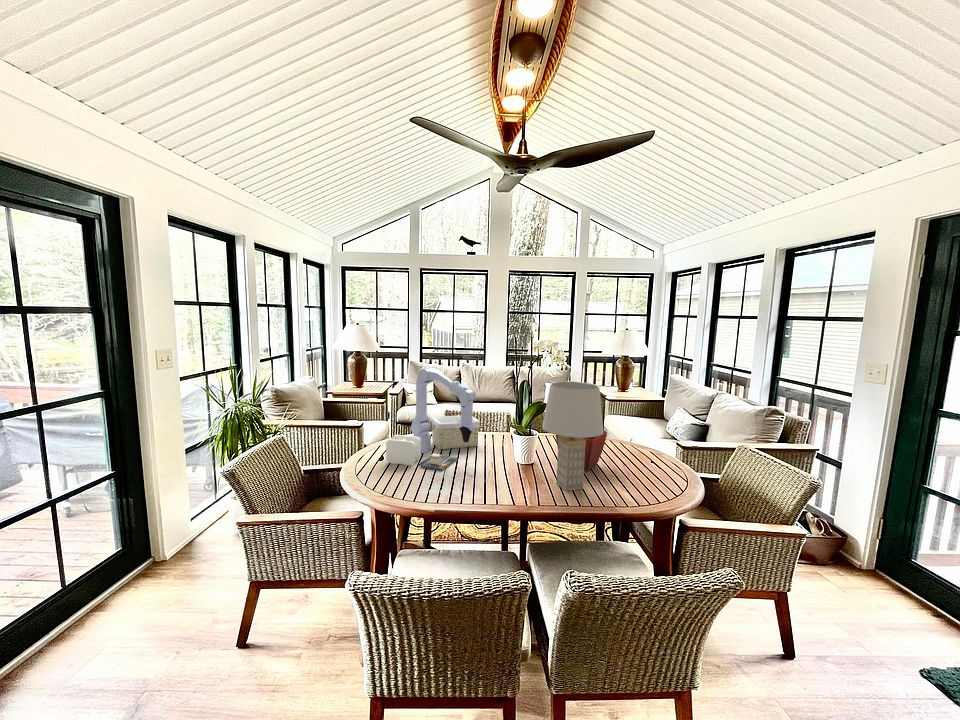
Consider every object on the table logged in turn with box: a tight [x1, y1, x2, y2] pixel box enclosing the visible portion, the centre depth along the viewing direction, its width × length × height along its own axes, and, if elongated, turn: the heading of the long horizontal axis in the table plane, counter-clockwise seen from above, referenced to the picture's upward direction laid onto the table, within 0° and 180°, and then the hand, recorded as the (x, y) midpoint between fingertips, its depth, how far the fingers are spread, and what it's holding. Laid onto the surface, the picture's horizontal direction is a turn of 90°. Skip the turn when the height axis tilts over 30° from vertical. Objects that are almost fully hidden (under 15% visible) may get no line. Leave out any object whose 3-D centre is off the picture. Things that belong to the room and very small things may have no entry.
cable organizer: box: [385, 434, 422, 466], centre depth 209 cm, size 15×11×12 cm
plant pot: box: [555, 430, 608, 472], centre depth 211 cm, size 19×19×17 cm
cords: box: [417, 456, 431, 467], centre depth 211 cm, size 15×2×1 cm, turn 159°
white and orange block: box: [429, 453, 442, 465], centre depth 204 cm, size 3×4×4 cm
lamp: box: [541, 381, 604, 492], centre depth 182 cm, size 25×25×44 cm
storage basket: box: [430, 414, 481, 450], centre depth 238 cm, size 24×16×15 cm
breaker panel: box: [420, 454, 458, 472], centre depth 208 cm, size 17×11×2 cm, turn 159°
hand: (465, 441), depth 211 cm, fingers closed
